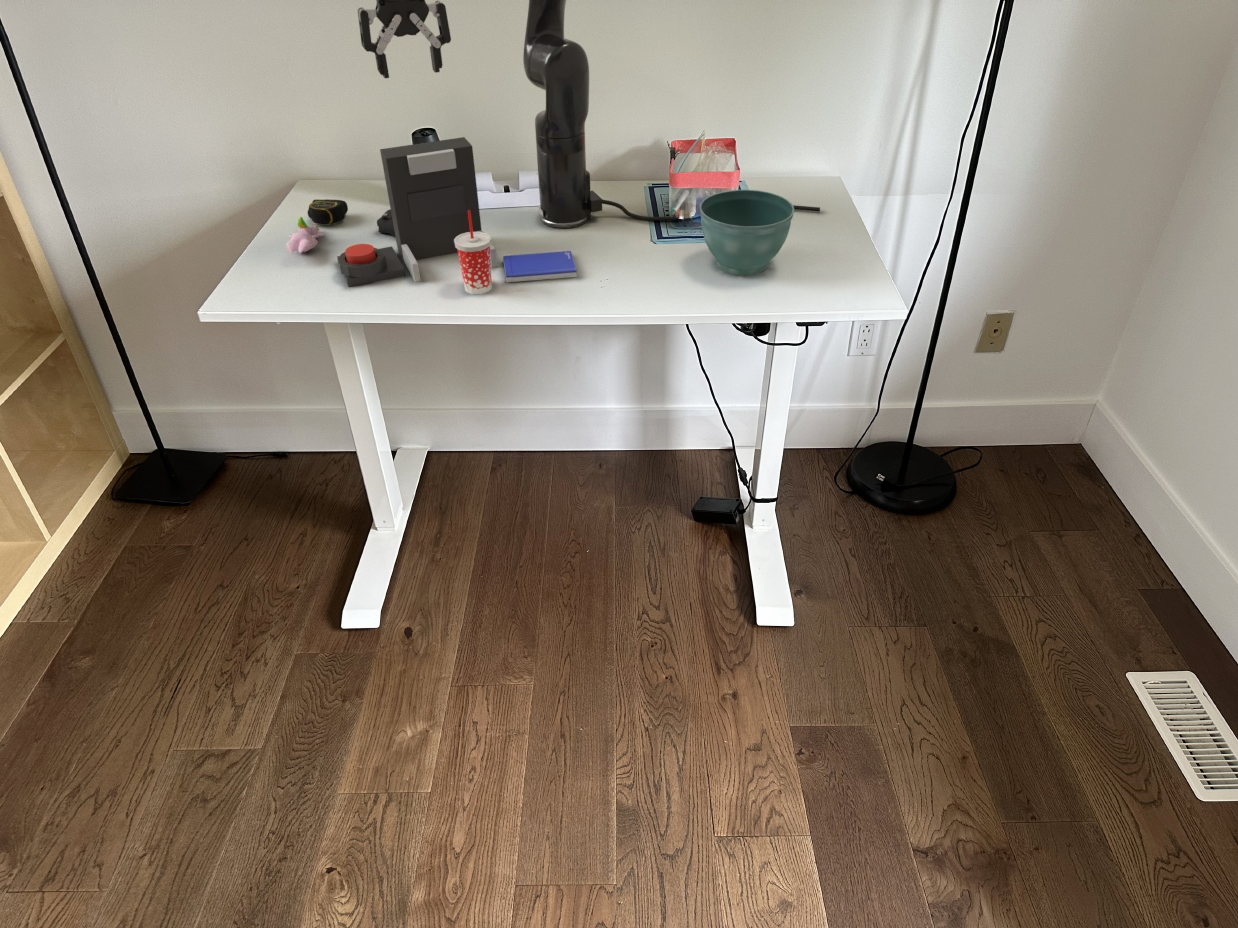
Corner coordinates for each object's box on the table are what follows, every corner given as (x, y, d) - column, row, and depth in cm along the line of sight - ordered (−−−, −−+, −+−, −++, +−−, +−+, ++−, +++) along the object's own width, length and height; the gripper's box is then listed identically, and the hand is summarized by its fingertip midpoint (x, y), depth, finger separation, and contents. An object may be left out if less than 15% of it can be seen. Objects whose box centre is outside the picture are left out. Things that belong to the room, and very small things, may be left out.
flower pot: (685, 276, 153) (687, 218, 146) (711, 240, 164) (715, 184, 158) (774, 292, 148) (782, 232, 141) (795, 253, 160) (803, 196, 153)
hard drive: (571, 249, 158) (502, 254, 156) (576, 269, 152) (505, 275, 150) (571, 257, 159) (503, 262, 157) (576, 277, 152) (506, 283, 151)
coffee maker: (476, 237, 166) (464, 137, 154) (497, 266, 156) (486, 162, 144) (398, 251, 161) (379, 149, 149) (415, 282, 151) (397, 175, 139)
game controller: (407, 236, 164) (382, 213, 162) (392, 253, 167) (367, 230, 165) (426, 215, 171) (402, 193, 169) (411, 232, 174) (387, 210, 172)
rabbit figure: (296, 241, 168) (279, 263, 155) (290, 210, 165) (272, 230, 152) (329, 239, 168) (315, 261, 155) (323, 208, 165) (308, 228, 153)
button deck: (393, 254, 160) (390, 236, 158) (406, 277, 153) (403, 259, 151) (336, 264, 157) (332, 246, 155) (346, 289, 150) (342, 270, 147)
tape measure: (351, 215, 174) (347, 197, 172) (340, 229, 169) (336, 210, 167) (317, 214, 175) (313, 196, 172) (306, 228, 169) (301, 210, 167)
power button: (373, 250, 154) (371, 241, 153) (378, 262, 151) (377, 253, 150) (344, 256, 153) (342, 246, 152) (349, 267, 149) (347, 258, 148)
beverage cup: (486, 298, 147) (477, 220, 138) (454, 293, 148) (443, 215, 139) (501, 282, 151) (494, 205, 142) (470, 277, 153) (460, 201, 144)
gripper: (353, -28, 130) (373, 85, 140) (446, -36, 134) (458, 75, 145) (344, -36, 135) (364, 74, 146) (434, -43, 140) (447, 64, 150)
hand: (411, 74), depth 145 cm, fingers open, 8 cm apart
